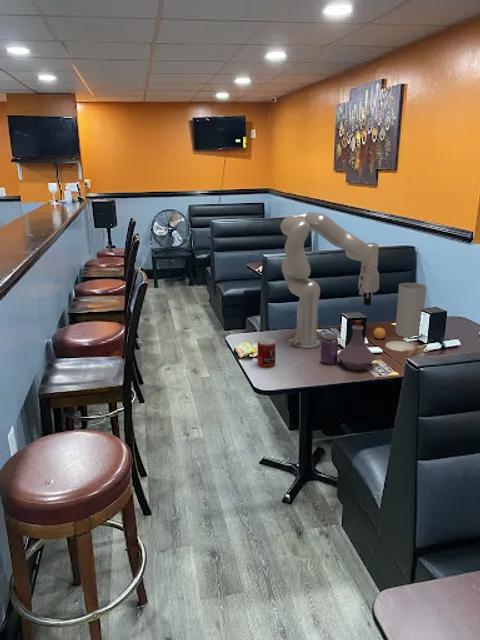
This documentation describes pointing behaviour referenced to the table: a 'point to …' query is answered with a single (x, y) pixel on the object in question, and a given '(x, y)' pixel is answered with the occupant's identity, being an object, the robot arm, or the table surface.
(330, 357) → the beverage can
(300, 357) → the table surface
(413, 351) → the stopper rail
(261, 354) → the canned food
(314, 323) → the robot arm
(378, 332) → the ball
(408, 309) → the cylinder vase
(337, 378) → the table surface
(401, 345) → the mark
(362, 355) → the flask
